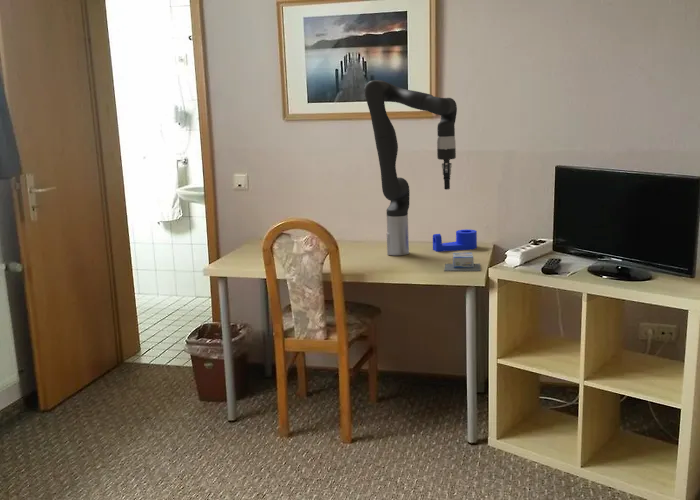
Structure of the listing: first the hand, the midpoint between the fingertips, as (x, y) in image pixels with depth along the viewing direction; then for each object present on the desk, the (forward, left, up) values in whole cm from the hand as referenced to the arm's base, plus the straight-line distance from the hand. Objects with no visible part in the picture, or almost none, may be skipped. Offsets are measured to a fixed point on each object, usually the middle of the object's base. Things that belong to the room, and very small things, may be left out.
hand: (447, 189), depth 298 cm
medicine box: (+6, -13, -26) cm, 30 cm away
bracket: (+3, +17, -30) cm, 34 cm away
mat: (+6, -20, -29) cm, 35 cm away
